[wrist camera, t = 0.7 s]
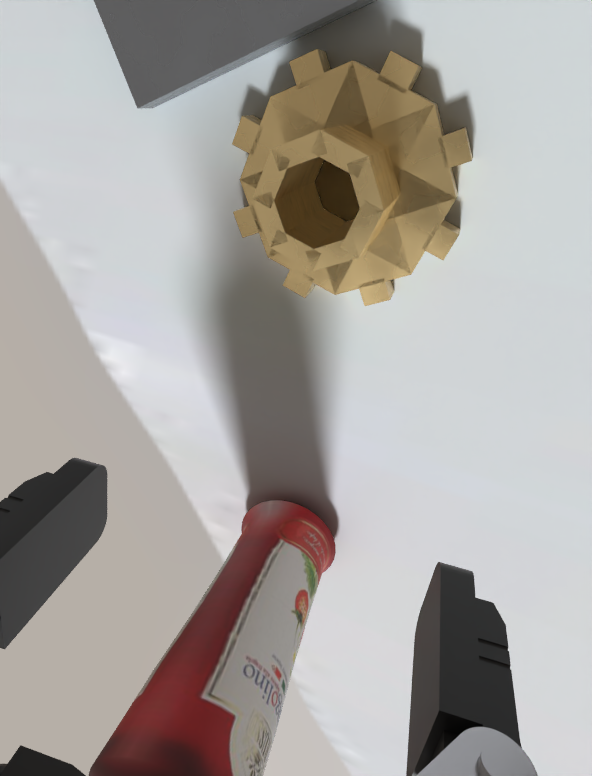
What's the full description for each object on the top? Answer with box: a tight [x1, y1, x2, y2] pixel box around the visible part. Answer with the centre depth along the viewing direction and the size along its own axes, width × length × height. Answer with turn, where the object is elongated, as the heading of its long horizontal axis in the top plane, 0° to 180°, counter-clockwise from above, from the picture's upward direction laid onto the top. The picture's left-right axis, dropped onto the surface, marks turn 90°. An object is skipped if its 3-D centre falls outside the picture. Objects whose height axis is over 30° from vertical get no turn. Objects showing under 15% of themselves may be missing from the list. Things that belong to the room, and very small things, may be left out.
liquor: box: [89, 500, 335, 776], centre depth 28 cm, size 7×7×28 cm
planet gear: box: [232, 49, 473, 306], centre depth 26 cm, size 12×12×6 cm
